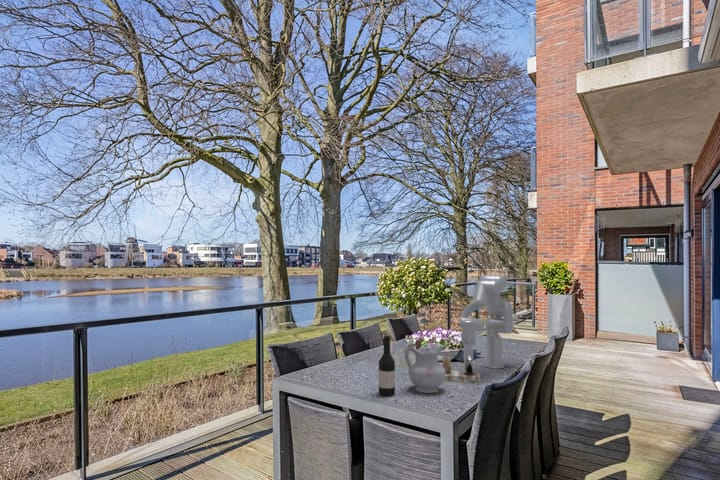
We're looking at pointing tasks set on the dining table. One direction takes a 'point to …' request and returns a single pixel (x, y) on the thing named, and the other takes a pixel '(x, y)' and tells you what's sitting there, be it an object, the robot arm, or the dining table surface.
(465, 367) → the oak peg
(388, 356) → the wine bottle
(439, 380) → the ceramic pitcher
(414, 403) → the dining table surface
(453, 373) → the board
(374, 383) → the dining table surface
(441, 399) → the dining table surface
